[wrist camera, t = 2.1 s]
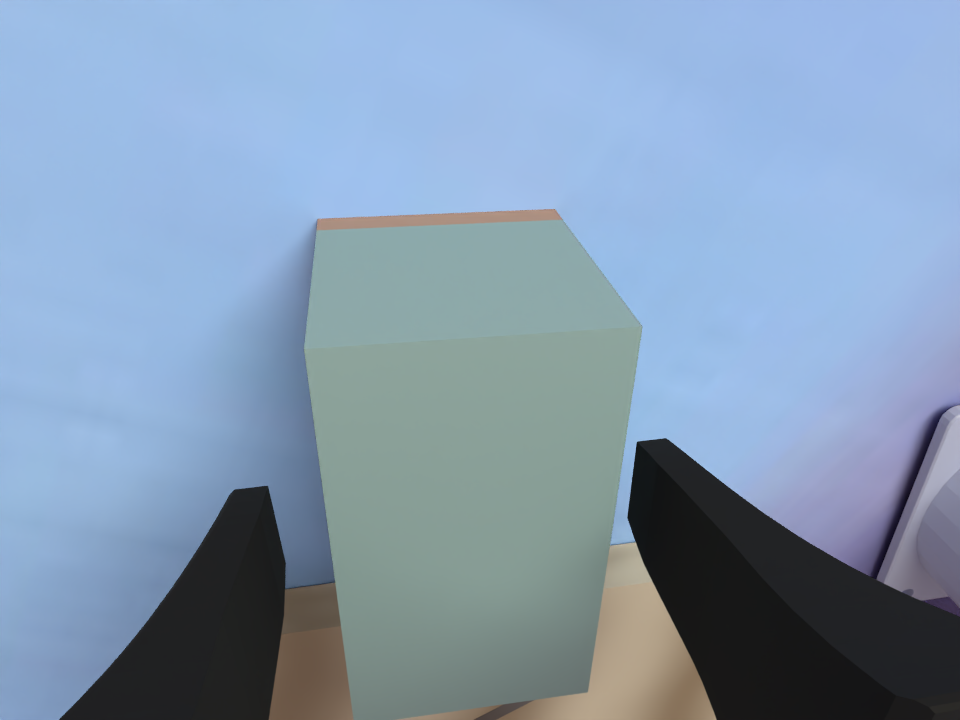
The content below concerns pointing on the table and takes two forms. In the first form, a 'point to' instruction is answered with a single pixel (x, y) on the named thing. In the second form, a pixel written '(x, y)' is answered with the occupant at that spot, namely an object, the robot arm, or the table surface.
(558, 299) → the block
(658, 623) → the birch board
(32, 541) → the table surface
